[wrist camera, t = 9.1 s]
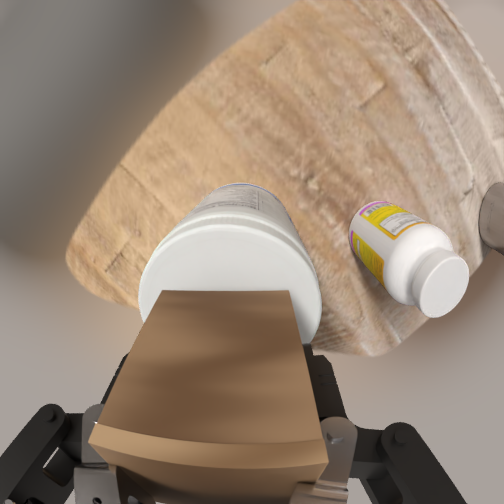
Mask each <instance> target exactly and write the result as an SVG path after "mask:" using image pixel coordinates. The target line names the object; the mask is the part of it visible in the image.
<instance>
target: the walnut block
mask: <svg viewBox="0 0 504 504" xmlns="http://www.w3.org/2000/svg"><path fill="white" fill-rule="evenodd" d="M88 443H89V444H90V445H91V446H92V447H93V448H94V449H95V450H96V451H97V452H98V454H99V455H100V456H101V457H102V458H103V459H104V460H105V461H106V462H107V463H108V464H109V465H118V466H119V467H120V468H121V469H122V470H123V471H124V472H125V473H126V474H127V475H128V476H129V477H130V478H131V479H133V480H134V481H135V482H136V483H137V484H138V485H139V486H141V487H142V488H143V489H144V490H145V491H146V492H148V493H149V494H150V495H151V496H153V498H154V500H155V502H160V503H165V504H287V502H288V500H289V498H290V496H291V495H292V493H293V490H294V488H295V486H296V484H297V482H316V481H317V480H318V478H319V477H320V475H321V474H322V472H323V471H324V469H325V467H326V466H327V464H328V463H329V460H328V455H327V450H326V445H325V440H324V439H323V437H322V432H321V427H320V422H319V417H318V413H317V408H316V403H315V399H314V394H313V390H312V385H311V381H310V376H309V372H308V367H307V363H306V359H305V354H304V350H303V346H302V342H301V337H300V333H299V329H298V325H297V321H296V317H295V312H294V308H293V304H292V300H291V296H290V292H289V290H274V291H187V290H162V291H161V293H160V295H159V296H158V298H157V300H156V302H155V304H154V306H153V308H152V309H151V311H150V313H149V315H148V317H147V319H146V321H145V323H144V325H143V327H142V329H141V331H140V332H139V335H138V336H137V338H136V340H135V342H134V344H133V346H132V348H131V350H130V352H129V354H128V356H127V358H126V360H125V362H124V364H123V367H122V369H121V371H120V373H119V375H118V377H117V379H116V381H115V383H114V386H113V388H112V390H111V392H110V394H109V397H108V399H107V401H106V403H105V406H104V408H103V410H102V413H101V415H100V417H99V420H98V422H97V423H96V424H95V426H94V428H93V431H92V433H91V436H90V438H89V441H88Z"/></svg>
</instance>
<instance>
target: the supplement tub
mask: <svg viewBox="0 0 504 504" xmlns="http://www.w3.org/2000/svg"><path fill="white" fill-rule="evenodd" d="M162 290H187V291H274V290H289V292H290V296H291V300H292V304H293V308H294V312H295V317H296V321H297V325H298V329H299V333H300V337H301V342H302V344H303V343H310V342H311V341H312V339H313V337H314V336H315V334H316V331H317V329H318V326H319V323H320V319H321V312H322V301H321V293H320V288H319V282H318V278H317V274H316V271H315V268H314V266H313V264H312V261H311V259H310V257H309V255H308V253H307V251H306V249H305V247H304V245H303V243H302V241H301V239H300V237H299V235H298V233H297V231H296V229H295V227H294V225H293V223H292V221H291V219H290V217H289V214H288V213H287V211H286V209H285V207H284V206H283V204H282V203H281V202H280V200H279V199H278V198H277V197H276V196H275V195H274V194H272V193H271V192H270V191H268V190H266V189H264V188H262V187H260V186H257V185H254V184H250V183H232V184H228V185H224V186H222V187H220V188H217V189H216V190H214V191H213V192H211V193H210V194H209V195H208V196H206V197H205V198H204V199H203V200H202V201H201V202H200V203H199V204H198V205H197V206H196V207H195V208H194V209H193V210H192V211H191V212H190V213H189V214H188V215H187V216H185V217H184V218H183V219H182V220H181V221H180V222H179V223H178V224H177V225H176V226H175V227H174V228H173V229H172V230H171V232H170V233H169V234H168V235H167V236H166V237H165V238H164V239H163V240H162V241H161V242H160V244H159V245H158V246H157V248H156V249H155V251H154V252H153V254H152V256H151V258H150V260H149V262H148V263H147V265H146V267H145V269H144V271H143V274H142V277H141V280H140V285H139V294H138V295H139V308H140V312H141V317H142V319H143V322H144V323H145V321H146V319H147V317H148V315H149V313H150V311H151V309H152V308H153V306H154V304H155V302H156V300H157V298H158V296H159V295H160V293H161V291H162Z"/></svg>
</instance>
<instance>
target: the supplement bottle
mask: <svg viewBox="0 0 504 504" xmlns="http://www.w3.org/2000/svg"><path fill="white" fill-rule="evenodd" d="M349 241H350V245H351V247H352V249H353V251H354V253H355V254H356V255H357V256H358V258H359V259H360V260H361V261H362V262H363V263H364V264H365V266H366V267H367V268H368V269H369V270H370V271H371V273H372V274H373V275H374V276H375V277H376V278H377V280H378V281H379V282H380V283H381V284H382V286H383V287H384V288H385V289H386V290H387V292H388V293H389V294H390V295H391V296H392V297H393V298H394V299H395V300H396V301H397V302H399V303H401V304H404V305H411V306H414V305H416V306H417V307H418V309H419V310H420V311H421V312H422V313H423V314H424V315H426V316H427V317H431V318H435V317H440V316H443V315H444V314H446V313H448V312H449V311H451V310H452V309H453V308H454V307H455V306H456V305H457V304H458V303H459V301H460V300H461V298H462V297H463V295H464V293H465V291H466V288H467V285H468V281H469V269H468V266H467V264H466V262H465V261H464V260H463V259H462V258H461V257H459V256H458V255H457V254H456V253H455V252H453V247H452V244H451V242H450V239H449V238H448V236H447V235H446V234H445V233H444V232H443V231H442V230H441V229H439V228H437V227H436V226H434V225H432V224H430V223H429V222H427V221H425V220H423V219H421V218H419V217H417V216H415V215H413V214H412V213H410V212H408V211H406V210H404V209H402V208H400V207H398V206H395V205H393V204H391V203H388V202H384V201H375V202H371V203H369V204H366V205H365V206H363V207H362V208H361V209H360V210H359V211H358V212H357V213H356V214H355V216H354V218H353V220H352V222H351V225H350V228H349Z"/></svg>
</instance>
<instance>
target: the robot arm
mask: <svg viewBox="0 0 504 504" xmlns="http://www.w3.org/2000/svg"><path fill="white" fill-rule="evenodd" d="M479 228H480V234H481V237H482V239H483V241H484V243H485V244H486V245H488V246H490V247H491V248H493V249H495V250H496V251H498V252H499V253H501V254H502V255H504V184H503V183H496V184H494V185H493V186H492V187H491V188H490V189H489V190H488V192H487V193H486V195H485V197H484V200H483V203H482V206H481V211H480V218H479ZM302 346H303V350H304V354H305V359H306V363H307V367H308V372H309V376H310V381H311V385H312V390H313V394H314V399H315V403H316V408H317V413H318V417H319V422H320V427H321V432H322V437H323V439H324V440H325V445H326V450H327V455H328V460H329V463H328V464H327V466H326V467H325V469H324V471H323V472H322V474H321V475H320V477H319V478H318V480H317V481H316V482H297V484H296V486H295V488H294V490H293V493H292V495H291V496H290V498H289V500H288V502H287V504H346V503H347V499H348V490H347V483H348V478H359V479H360V481H361V483H362V485H363V487H364V489H365V491H366V493H367V494H368V496H369V498H370V500H371V502H372V504H467V503H466V502H465V500H464V499H463V497H462V496H461V494H460V493H459V491H458V490H457V488H456V487H455V485H454V484H453V482H452V481H451V479H450V478H449V476H448V475H447V473H446V472H445V471H444V469H443V468H442V466H441V465H440V463H439V462H438V461H437V459H436V458H435V456H434V455H433V453H432V452H431V450H430V449H429V447H428V446H427V445H426V443H425V442H424V441H423V439H422V438H421V436H420V435H419V434H418V432H417V431H416V429H415V428H414V427H412V426H411V425H409V424H407V423H402V422H399V423H398V422H397V423H393V424H391V425H389V426H388V427H386V428H385V430H374V429H364V428H360V427H358V426H356V425H354V424H353V423H352V422H351V421H350V420H349V419H348V418H347V416H346V413H345V409H344V406H343V402H342V399H341V396H340V392H339V389H338V385H337V384H336V383H337V382H336V378H335V376H334V372H333V369H332V365H331V363H330V362H329V361H328V360H327V359H326V358H325V356H324V355H316V356H314V355H313V351H312V348H311V344H310V343H303V344H302ZM128 354H129V353H128ZM128 354H126V355H125V356H124V357H123V359H122V361H121V363H120V365H119V368H118V369H117V371H116V373H115V376H114V377H113V379H112V381H111V383H110V385H109V387H108V389H107V391H106V393H105V395H104V397H103V399H102V401H101V403H100V404H96V405H93V406H91V407H89V408H88V409H87V410H86V411H85V413H71V414H69V413H65V412H64V411H63V409H62V408H61V407H60V406H58V405H56V404H47V405H45V406H43V407H41V408H40V409H39V411H38V412H37V413H36V414H35V415H34V416H33V417H32V419H31V420H30V421H29V422H28V423H27V425H26V426H25V427H24V428H23V429H22V431H21V432H20V433H19V434H18V436H17V437H16V438H15V439H14V440H13V442H12V443H11V444H10V445H9V447H8V448H7V449H6V450H5V452H4V453H3V454H2V456H1V457H0V504H64V503H65V501H66V500H67V498H68V497H69V495H70V494H71V492H72V491H73V489H74V490H75V502H76V504H156V503H155V500H154V498H153V496H151V495H150V494H149V493H148V492H146V491H145V490H144V489H143V488H142V487H141V486H139V485H138V484H137V483H136V482H135V481H134V480H133V479H131V478H130V477H129V476H128V475H127V474H126V473H125V472H124V471H123V470H122V469H121V468H120V467H119V466H118V465H109V464H108V463H107V462H106V461H105V460H104V459H103V458H102V457H101V456H100V455H99V454H98V452H97V451H96V450H95V449H94V448H93V447H92V446H91V445H90V444H89V443H88V441H89V438H90V436H91V433H92V431H93V428H94V426H95V424H96V423H97V422H98V420H99V417H100V415H101V413H102V410H103V408H104V406H105V403H106V401H107V399H108V397H109V394H110V392H111V390H112V388H113V386H114V383H115V381H116V379H117V377H118V375H119V373H120V371H121V369H122V367H123V364H124V362H125V360H126V358H127V356H128ZM57 447H58V448H59V449H58V451H57V452H56V453H55V455H54V456H53V457H52V459H51V460H50V461H49V463H48V464H47V466H46V467H45V468H43V466H44V464H45V463H46V462H47V460H48V459H49V458H50V456H51V455H52V454H53V452H54V451H55V450H56V448H57Z"/></svg>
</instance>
